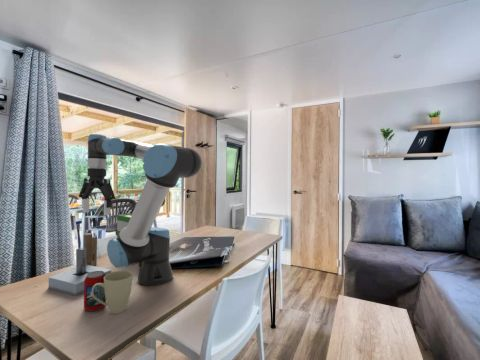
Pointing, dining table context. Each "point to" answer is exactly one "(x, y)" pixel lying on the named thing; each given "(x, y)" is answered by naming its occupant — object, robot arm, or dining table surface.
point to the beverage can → (99, 292)
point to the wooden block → (90, 249)
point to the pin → (80, 261)
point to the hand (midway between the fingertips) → (96, 213)
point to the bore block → (72, 280)
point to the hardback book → (122, 222)
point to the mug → (116, 290)
